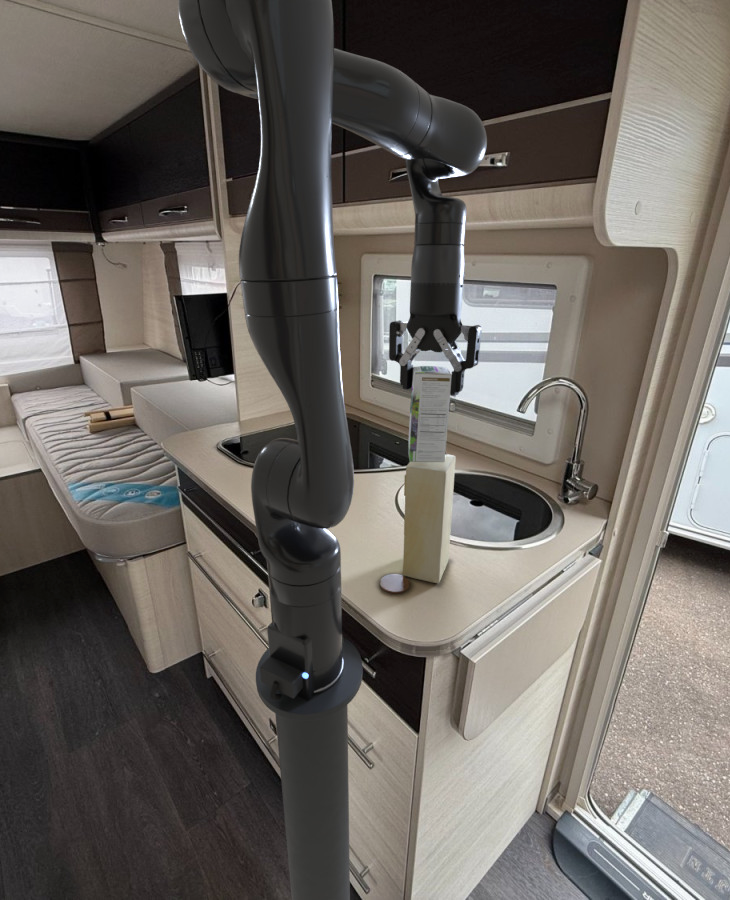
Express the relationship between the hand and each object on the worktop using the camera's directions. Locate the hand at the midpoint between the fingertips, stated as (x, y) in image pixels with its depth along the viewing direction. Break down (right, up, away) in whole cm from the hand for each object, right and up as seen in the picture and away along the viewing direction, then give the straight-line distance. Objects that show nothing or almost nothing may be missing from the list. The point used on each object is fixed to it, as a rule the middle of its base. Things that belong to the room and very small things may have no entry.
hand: (430, 391), depth 73 cm
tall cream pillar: (+1, -31, +12) cm, 33 cm away
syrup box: (0, -10, +4) cm, 11 cm away
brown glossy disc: (-5, -32, +7) cm, 33 cm away
